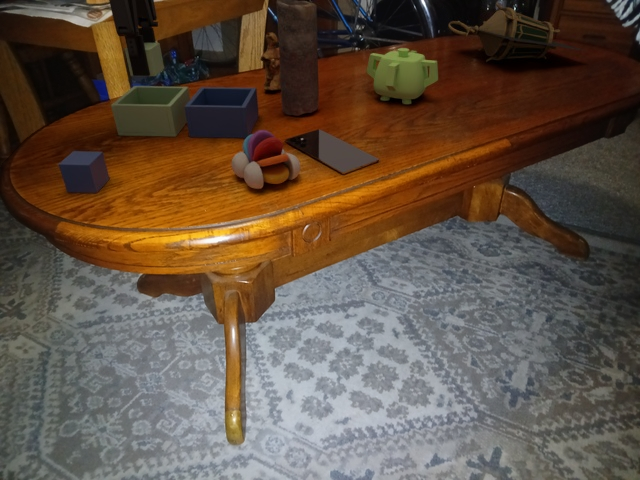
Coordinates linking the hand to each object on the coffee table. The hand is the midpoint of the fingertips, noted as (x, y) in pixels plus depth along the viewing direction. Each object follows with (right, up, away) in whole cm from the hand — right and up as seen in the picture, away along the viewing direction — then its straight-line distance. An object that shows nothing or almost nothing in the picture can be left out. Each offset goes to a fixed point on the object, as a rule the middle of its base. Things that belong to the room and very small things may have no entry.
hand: (147, 70), depth 90 cm
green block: (0, 0, 0) cm, 0 cm away
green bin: (0, -8, +6) cm, 10 cm away
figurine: (+21, +3, +22) cm, 30 cm away
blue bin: (+13, -9, +5) cm, 16 cm away
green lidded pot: (+47, 0, +17) cm, 50 cm away
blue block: (-4, -22, -14) cm, 26 cm away
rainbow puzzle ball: (+22, -21, -12) cm, 33 cm away
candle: (+27, -4, +11) cm, 29 cm away
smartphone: (+32, -15, -5) cm, 36 cm away
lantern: (+77, +16, +40) cm, 89 cm away
